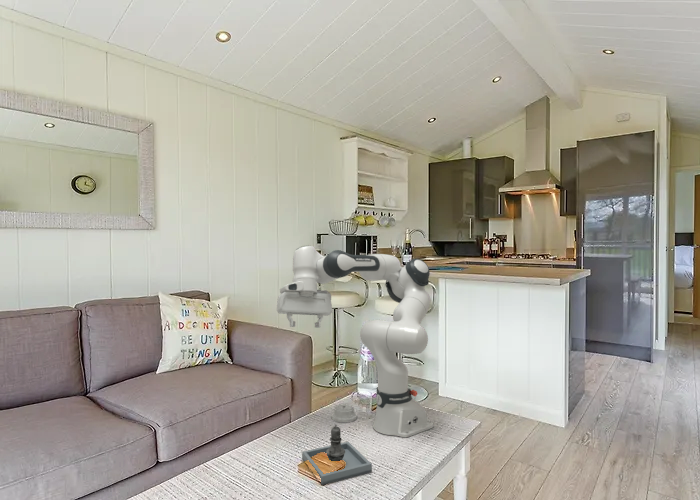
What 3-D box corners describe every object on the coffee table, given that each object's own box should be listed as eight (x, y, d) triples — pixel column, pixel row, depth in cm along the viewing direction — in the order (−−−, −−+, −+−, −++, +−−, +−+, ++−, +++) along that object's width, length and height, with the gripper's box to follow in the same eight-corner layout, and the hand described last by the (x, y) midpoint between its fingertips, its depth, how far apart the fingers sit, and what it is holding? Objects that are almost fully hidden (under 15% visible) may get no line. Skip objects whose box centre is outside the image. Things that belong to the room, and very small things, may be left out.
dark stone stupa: (339, 470, 131) (339, 429, 131) (322, 464, 134) (322, 425, 133) (348, 461, 136) (348, 422, 136) (332, 456, 139) (332, 418, 139)
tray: (348, 449, 146) (348, 441, 145) (371, 472, 131) (371, 463, 131) (302, 459, 138) (302, 451, 138) (321, 485, 124) (321, 476, 124)
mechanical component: (328, 422, 167) (354, 424, 165) (328, 410, 167) (354, 412, 165) (334, 412, 177) (359, 414, 175) (334, 401, 177) (359, 403, 175)
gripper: (327, 292, 168) (328, 329, 164) (275, 288, 159) (275, 327, 155) (334, 288, 163) (335, 326, 159) (281, 284, 154) (280, 324, 149)
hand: (305, 327), depth 157 cm, fingers open, 8 cm apart
